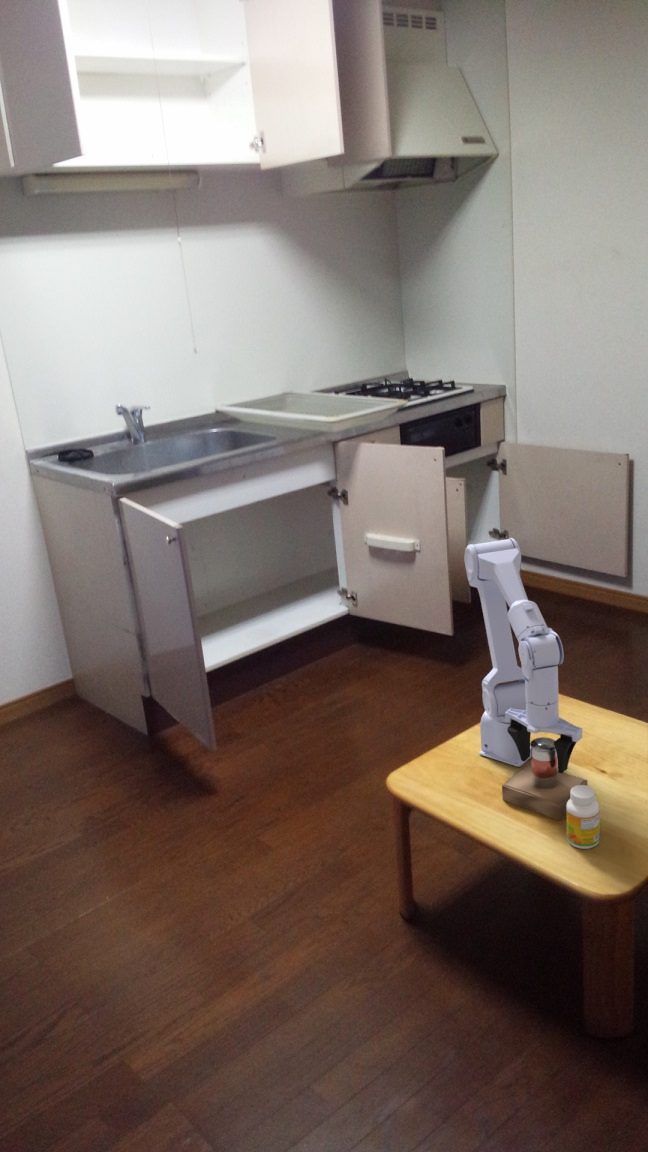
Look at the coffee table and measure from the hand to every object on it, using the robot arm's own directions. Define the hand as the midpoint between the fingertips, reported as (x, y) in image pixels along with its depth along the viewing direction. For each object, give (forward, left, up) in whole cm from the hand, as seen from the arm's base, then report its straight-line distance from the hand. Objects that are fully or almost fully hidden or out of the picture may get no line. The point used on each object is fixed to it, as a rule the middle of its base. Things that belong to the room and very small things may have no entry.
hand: (544, 764), depth 165 cm
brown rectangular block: (0, 0, -7) cm, 7 cm away
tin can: (0, 0, -4) cm, 4 cm away
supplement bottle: (+12, -8, -7) cm, 16 cm away
